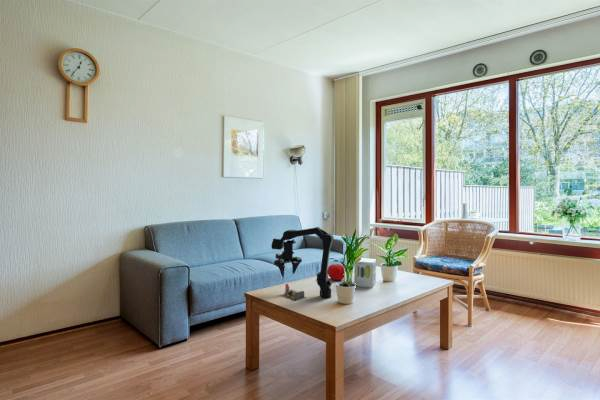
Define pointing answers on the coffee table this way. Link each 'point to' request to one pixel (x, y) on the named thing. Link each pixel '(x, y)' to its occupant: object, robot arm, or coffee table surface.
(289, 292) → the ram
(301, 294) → the beige mounting plate
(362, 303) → the coffee table surface
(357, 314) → the coffee table surface
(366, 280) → the supplement box
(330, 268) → the tomato
